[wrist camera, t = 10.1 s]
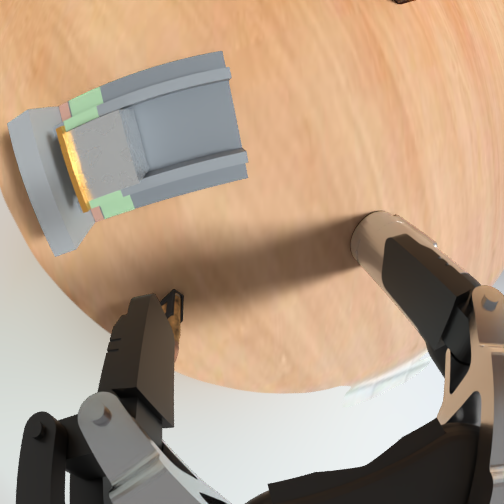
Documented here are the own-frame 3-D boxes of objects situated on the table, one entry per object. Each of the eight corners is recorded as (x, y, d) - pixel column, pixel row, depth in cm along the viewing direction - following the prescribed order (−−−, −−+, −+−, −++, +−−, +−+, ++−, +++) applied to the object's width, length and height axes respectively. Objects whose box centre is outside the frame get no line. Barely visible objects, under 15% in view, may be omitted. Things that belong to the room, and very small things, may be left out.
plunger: (131, 103, 24) (114, 102, 18) (151, 174, 28) (140, 193, 22) (82, 123, 23) (55, 129, 17) (103, 191, 27) (83, 213, 22)
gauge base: (221, 52, 24) (230, 35, 17) (246, 175, 32) (261, 196, 25) (43, 116, 22) (7, 123, 15) (79, 225, 30) (55, 256, 23)
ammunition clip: (142, 333, 40) (136, 396, 30) (133, 328, 40) (124, 390, 29) (184, 295, 38) (185, 361, 28) (174, 288, 37) (172, 354, 27)
